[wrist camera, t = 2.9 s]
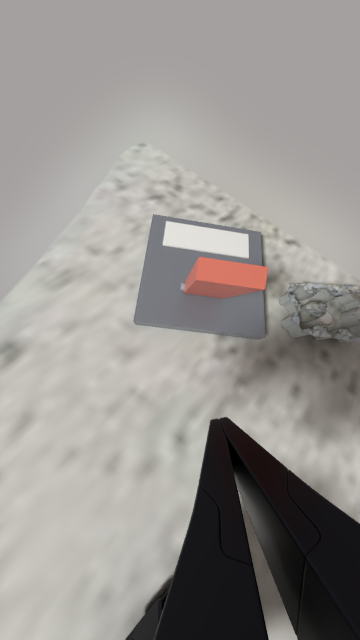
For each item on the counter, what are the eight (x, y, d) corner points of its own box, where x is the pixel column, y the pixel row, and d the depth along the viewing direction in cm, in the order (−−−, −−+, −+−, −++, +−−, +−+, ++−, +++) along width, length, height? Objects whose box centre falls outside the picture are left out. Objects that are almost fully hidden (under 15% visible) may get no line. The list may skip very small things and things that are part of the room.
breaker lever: (225, 299, 23) (271, 290, 13) (179, 293, 23) (188, 278, 13) (227, 287, 23) (275, 268, 13) (181, 280, 23) (191, 255, 13)
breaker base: (258, 339, 24) (266, 336, 22) (135, 324, 23) (133, 320, 21) (255, 239, 28) (261, 231, 27) (153, 222, 27) (153, 213, 26)
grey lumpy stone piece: (343, 299, 27) (374, 286, 23) (351, 349, 25) (387, 344, 21) (276, 287, 27) (296, 272, 23) (277, 337, 24) (300, 329, 20)
